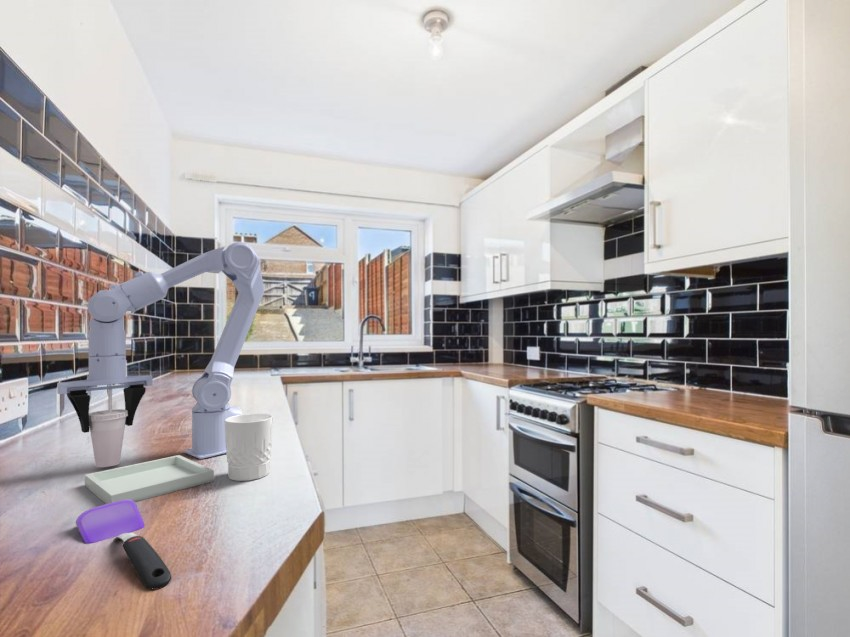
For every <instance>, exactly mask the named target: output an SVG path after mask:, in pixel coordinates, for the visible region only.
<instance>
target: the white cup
mask: <svg viewBox="0 0 850 637" xmlns="http://www.w3.org/2000/svg"><path fill="white" fill-rule="evenodd" d="M273 417H274V416H273V415H272V414H268V413H247V414H246V413H245V414H244V413H243V415H237V416H232V417H229V418H226V419H225V439H226V453H225V454H226V462H227V467H228V470H227V471H228V479H229V480H231V481H236V482H246V481H247V482H248V481H249V482H250V481H255V480H259V479H262V478H265V477H267V476H268V475H269V474H270V473H271V472H270V471H271V467H270V466H271V465H270V464H271V456H272V443H273V442H272V441H273V419H274V418H273Z"/></svg>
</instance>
